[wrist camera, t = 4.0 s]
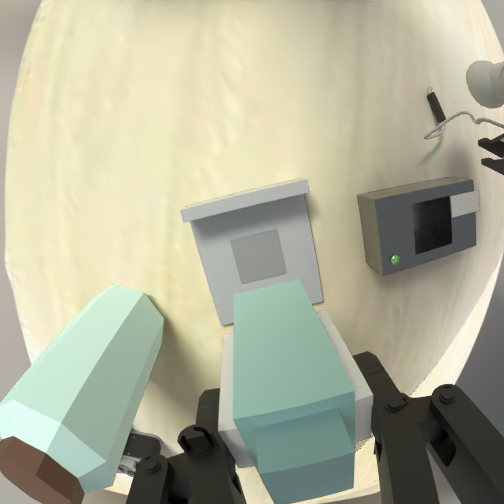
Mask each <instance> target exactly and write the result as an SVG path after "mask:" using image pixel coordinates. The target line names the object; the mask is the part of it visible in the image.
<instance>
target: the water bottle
mask: <svg viewBox="0 0 504 504" xmlns="http://www.w3.org/2000/svg"><path fill="white" fill-rule="evenodd" d="M163 326H164V317H163V316H162V315H161V314H160V312H159V311H158V310H157V309H156V307H155V306H154V305H153V303H152V302H151V301H150V299H149V298H148V297H147V296H146V294H145V293H144V292H142V291H137V290H133V289H129V288H125V287H122V286H118V285H114V284H113V285H111V286H110V287H109V288H107V289H106V290H104V291H103V292H102V293H100V294H99V295H98V296H96V297H95V298H93V299H92V300H91V301H90V302H89V303H88V304H87V305H86V306H85V307H84V308H83V309H82V310H81V311H80V312H79V314H78V315H77V316H76V317H75V318H74V319H73V320H72V321H71V322H70V323H69V324H68V325H67V326H66V327H65V328H64V329H63V330H62V332H61V333H60V334H59V335H58V336H57V337H56V338H55V339H54V340H53V341H52V343H51V344H50V345H49V346H48V347H47V348H46V349H45V350H44V351H43V353H42V354H41V355H40V356H39V357H38V358H37V359H36V361H35V362H34V363H33V364H32V365H31V366H30V368H29V369H28V370H27V371H26V372H25V374H24V375H23V376H22V377H21V378H20V379H19V381H18V382H17V383H16V384H15V386H14V387H13V388H12V389H11V391H10V392H9V393H8V394H7V396H6V397H5V398H4V399H3V401H2V402H1V403H0V435H1V439H2V440H1V441H0V471H1V472H2V474H3V475H4V476H5V477H6V478H7V479H8V480H9V481H11V482H12V483H13V484H14V485H16V486H17V487H18V488H19V489H21V490H22V491H23V492H25V493H26V494H27V495H29V496H30V497H31V498H33V499H35V500H37V501H39V502H41V503H43V504H81V503H82V500H83V497H84V494H85V493H88V492H92V491H96V490H99V489H103V488H106V487H110V486H113V483H114V480H115V476H116V473H117V470H118V467H119V464H120V460H121V457H122V454H123V451H124V448H125V445H126V442H127V439H128V436H129V433H130V430H131V427H132V424H133V421H134V418H135V416H136V413H137V410H138V407H139V404H140V401H141V399H142V396H143V393H144V390H145V388H146V385H147V382H148V379H149V377H150V374H151V371H152V369H153V366H154V363H155V361H156V358H157V355H158V353H159V350H160V348H161V345H162V335H163Z"/></svg>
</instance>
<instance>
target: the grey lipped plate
mask: <svg viewBox="0 0 504 504" xmlns="http://www.w3.org/2000/svg"><path fill="white" fill-rule="evenodd" d="M309 192H310V191H309V186H308V181H307V180H306V179H300V178H299V179H294V180H289V181H285V182H280V183H276V184H271V185H267V186H263V187H258V188H254V189H250V190H246V191H242V192H237V193H233V194H229V195H225V196H221V197H218V198H214V199H210V200H206V201H202V202H198V203H195V204H191V205H187V206H186V207H184V208H183V209H182V210H180V211H181V215H182V218H183V222H184V223H185V222H189V221H190V224H191V227H192V231H193V234H194V238H195V241H196V245H197V248H198V252H199V255H200V258H201V262H202V265H203V268H204V272H205V275H206V278H207V282H208V285H209V288H210V291H211V295H212V298H213V301H214V304H215V307H216V310H217V314H218V317H219V320H220V323H221V325H226V324H231V323H234V294H237V293H241V292H246V291H250V290H254V289H258V288H263V287H267V286H271V285H275V284H279V283H283V282H287V281H291V280H295V279H299V280H300V282H301V284H302V286H303V288H304V290H305V292H306V294H307V296H308V298H309V300H310V302H311V304H314V303H318V302H322V301H323V296H322V290H321V283H320V277H319V271H318V265H317V260H316V254H315V248H314V243H313V237H312V232H311V227H310V222H309V217H308V211H307V207H306V202H305V197H304V193H309Z"/></svg>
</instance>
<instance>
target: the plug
mask: <svg viewBox="0 0 504 504" xmlns="http://www.w3.org/2000/svg"><path fill="white" fill-rule="evenodd" d="M233 421H234V423H235V425H236V427H237V429H238V432H239V434H240V436H241V438H242V440H243V442H244V444H245V446H246V449H247V451H248V453H249V455H250V457H251V459H252V461H253V463H254V465H255V467H256V469H257V471H258V473H259V475H260V477H261V479H262V481H263V483H264V485H265V487H266V489H267V491H268V492H269V494H270V496H271V498H272V500H273V502H274V504H290V503H296V502H301V501H305V500H310V499H314V498H319V497H323V496H327V495H331V494H334V493H338V492H341V491H345V490H348V489H352V488H353V486H354V458H355V391H354V388H353V386H352V384H351V382H350V380H349V378H348V376H347V374H346V372H345V370H344V368H343V366H342V364H341V362H340V360H339V358H338V356H337V353H336V351H335V349H334V347H333V345H332V343H331V341H330V339H329V337H328V335H327V333H326V331H325V329H324V327H323V325H322V323H321V321H320V319H319V317H318V315H317V313H316V311H315V310H314V308H313V306H312V304H311V302H310V300H309V298H308V296H307V294H306V292H305V290H304V288H303V286H302V284H301V282H300V280H299V279H295V280H291V281H287V282H283V283H279V284H275V285H271V286H267V287H263V288H258V289H254V290H250V291H246V292H241V293H237V294H234V336H233Z"/></svg>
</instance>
